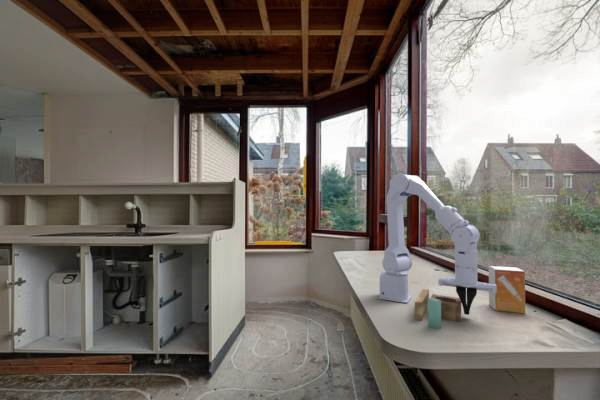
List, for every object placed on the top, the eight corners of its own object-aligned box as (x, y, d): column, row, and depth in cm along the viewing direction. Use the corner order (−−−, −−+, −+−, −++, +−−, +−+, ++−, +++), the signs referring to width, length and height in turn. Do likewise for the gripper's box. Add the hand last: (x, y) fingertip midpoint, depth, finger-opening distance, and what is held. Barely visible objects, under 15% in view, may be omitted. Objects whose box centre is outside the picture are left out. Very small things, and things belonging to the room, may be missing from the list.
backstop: (414, 318, 82) (414, 301, 82) (422, 304, 95) (422, 289, 95) (422, 320, 81) (422, 302, 81) (429, 305, 94) (429, 290, 94)
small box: (495, 311, 89) (494, 269, 89) (488, 304, 95) (488, 265, 95) (526, 314, 86) (525, 271, 87) (517, 307, 92) (516, 267, 93)
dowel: (427, 326, 76) (427, 300, 77) (429, 322, 79) (428, 297, 79) (440, 329, 75) (440, 302, 75) (441, 325, 77) (441, 299, 78)
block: (429, 316, 84) (429, 300, 84) (432, 308, 91) (432, 294, 91) (460, 321, 80) (460, 305, 80) (461, 313, 87) (461, 298, 87)
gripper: (437, 266, 83) (437, 312, 83) (497, 271, 76) (498, 323, 75) (439, 262, 89) (440, 305, 89) (495, 267, 82) (496, 315, 81)
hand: (466, 313), depth 83 cm, fingers closed
